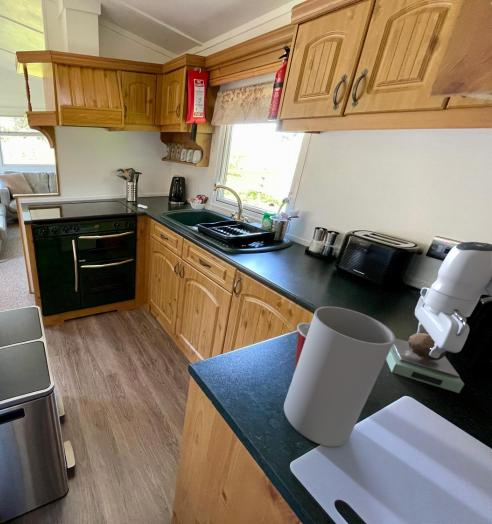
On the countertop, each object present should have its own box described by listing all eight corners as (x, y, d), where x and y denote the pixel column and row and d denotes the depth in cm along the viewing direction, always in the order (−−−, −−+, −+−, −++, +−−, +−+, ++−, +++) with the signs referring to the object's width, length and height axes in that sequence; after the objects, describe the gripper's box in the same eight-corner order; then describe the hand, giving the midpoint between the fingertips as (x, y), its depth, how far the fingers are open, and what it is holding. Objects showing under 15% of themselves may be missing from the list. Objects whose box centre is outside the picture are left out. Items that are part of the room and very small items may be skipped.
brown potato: (409, 331, 86) (425, 323, 81) (438, 351, 82) (457, 345, 77) (395, 348, 84) (410, 341, 79) (424, 370, 80) (442, 365, 75)
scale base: (437, 361, 86) (442, 352, 84) (459, 394, 74) (466, 383, 72) (379, 345, 91) (384, 336, 90) (391, 373, 79) (396, 362, 78)
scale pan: (439, 352, 84) (440, 350, 84) (458, 378, 74) (459, 376, 74) (388, 338, 89) (389, 336, 89) (399, 361, 79) (401, 359, 78)
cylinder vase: (331, 403, 68) (369, 311, 59) (360, 454, 56) (413, 350, 47) (276, 393, 69) (305, 302, 60) (293, 441, 58) (331, 338, 49)
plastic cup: (338, 375, 77) (353, 338, 73) (317, 390, 71) (332, 351, 67) (299, 351, 85) (310, 317, 81) (277, 363, 80) (288, 327, 75)
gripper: (487, 325, 65) (458, 373, 70) (448, 291, 82) (427, 332, 87) (450, 317, 68) (424, 364, 73) (420, 285, 85) (401, 325, 90)
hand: (426, 346), depth 80 cm, fingers open, 8 cm apart
